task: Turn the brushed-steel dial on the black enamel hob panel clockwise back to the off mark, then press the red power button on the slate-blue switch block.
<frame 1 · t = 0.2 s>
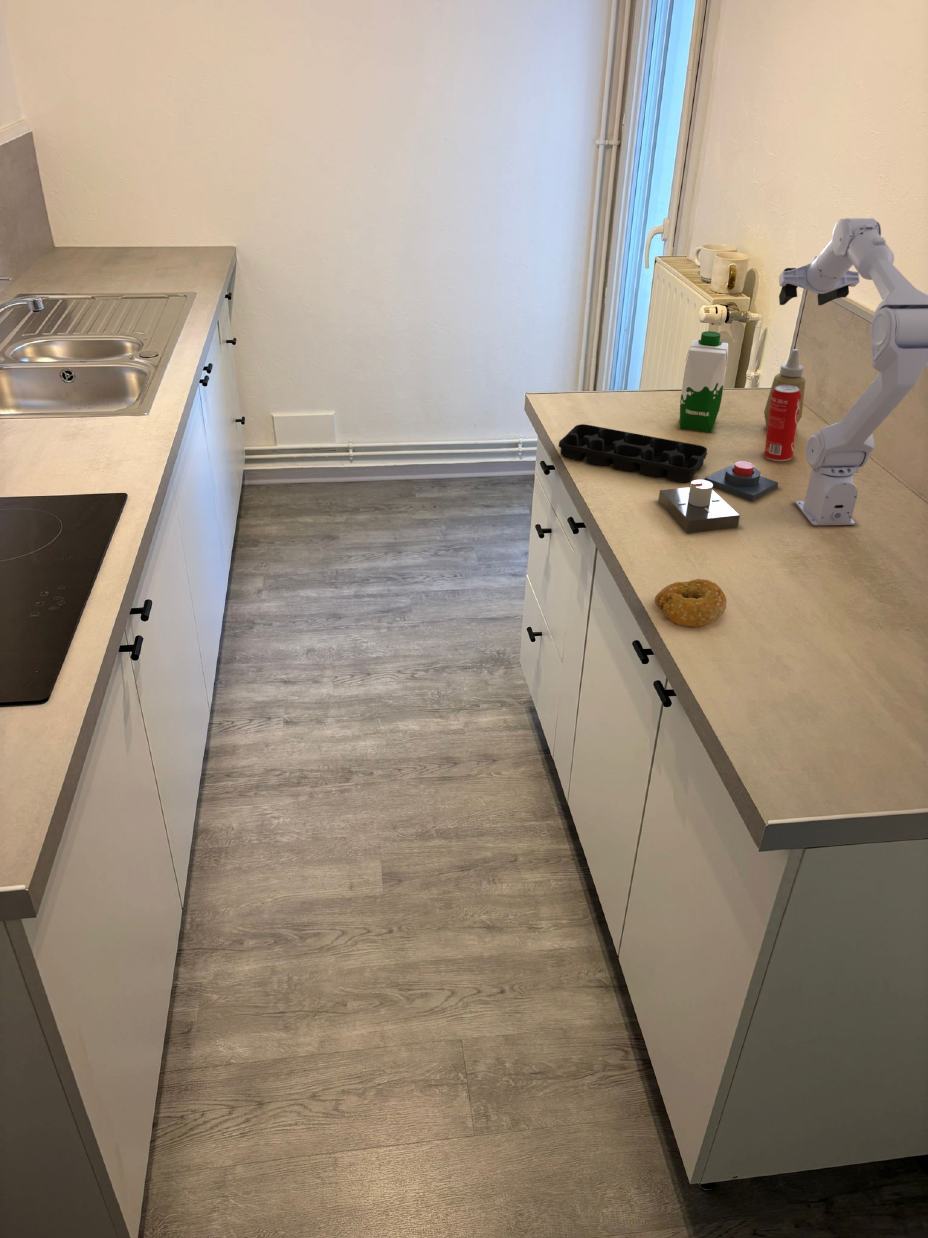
hand: (800, 300, 186), 32 cm above the counter, tool tilted 50°, fingers open, 7 cm apart
squeeze bottle: (779, 430, 215), on the counter
switch block: (740, 486, 190), on the counter
hob panel: (696, 514, 179), on the counter
power button: (743, 469, 188), point 4 cm above the counter, slide at 0.1 cm
hob knob: (700, 492, 176), point 5 cm above the counter, hinge at 90.0°
beverage can: (775, 457, 202), on the counter
bagel: (688, 613, 151), on the counter
egg carton: (630, 462, 199), on the counter
milk carton: (696, 426, 217), on the counter
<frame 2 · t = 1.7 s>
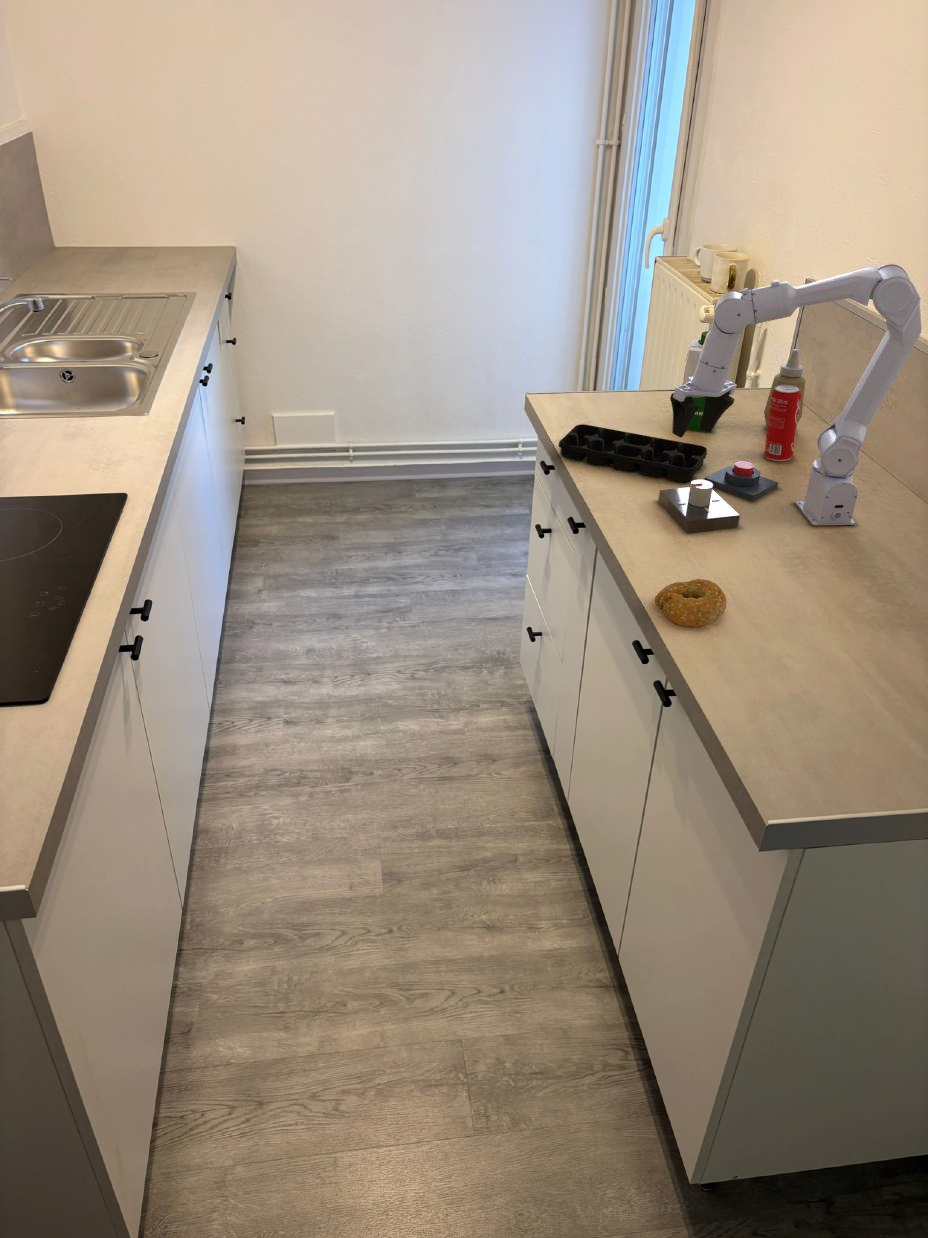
hand: (691, 432, 178), 13 cm above the counter, tool pointing down, fingers open, 7 cm apart
nothing on the counter moved.
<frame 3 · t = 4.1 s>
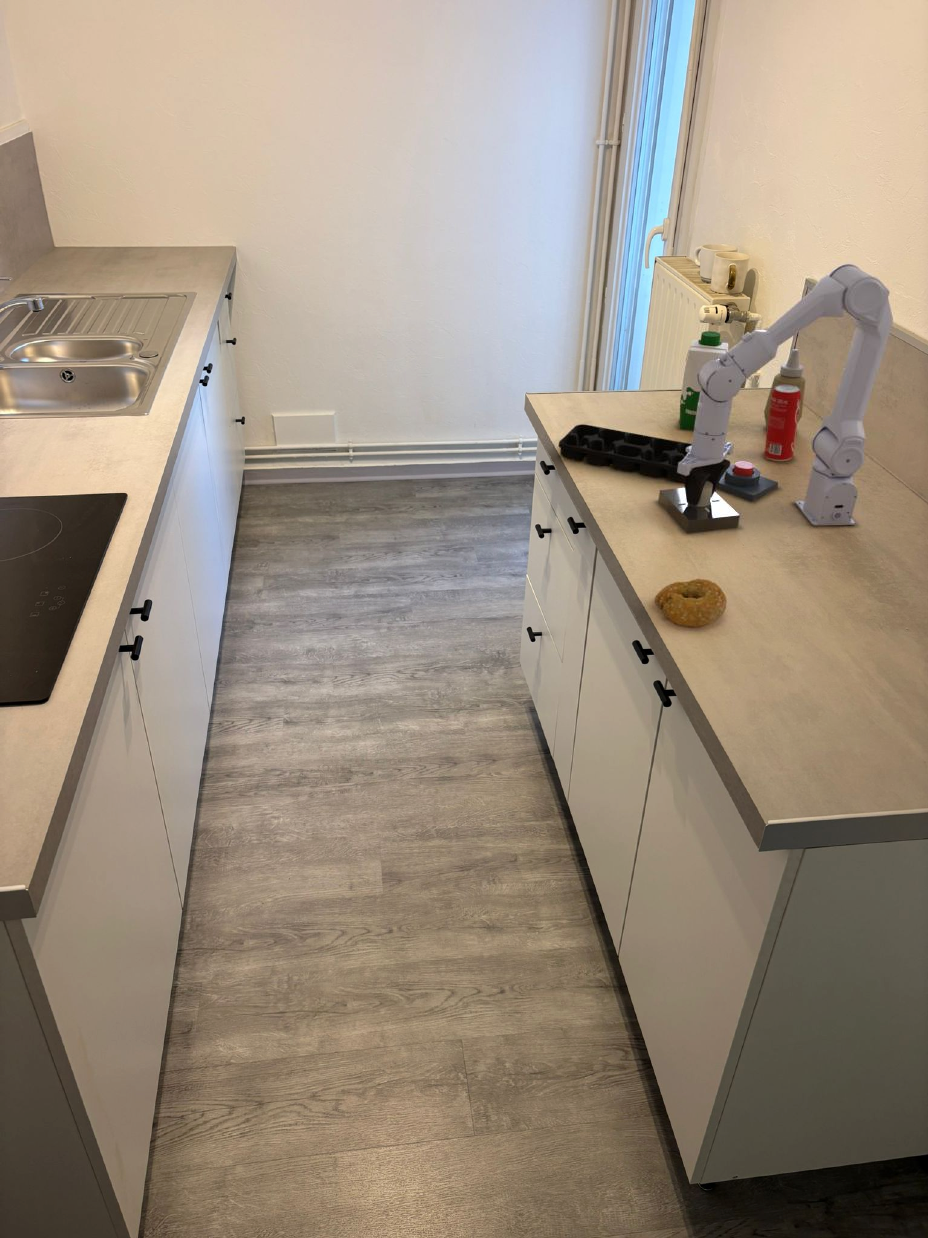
hand: (699, 499, 177), 3 cm above the counter, tool pointing down, fingers closed on hob knob, 4 cm apart
hob knob: (700, 492, 176), point 5 cm above the counter, hinge at 89.8°, touching gripper
everything else where it was.
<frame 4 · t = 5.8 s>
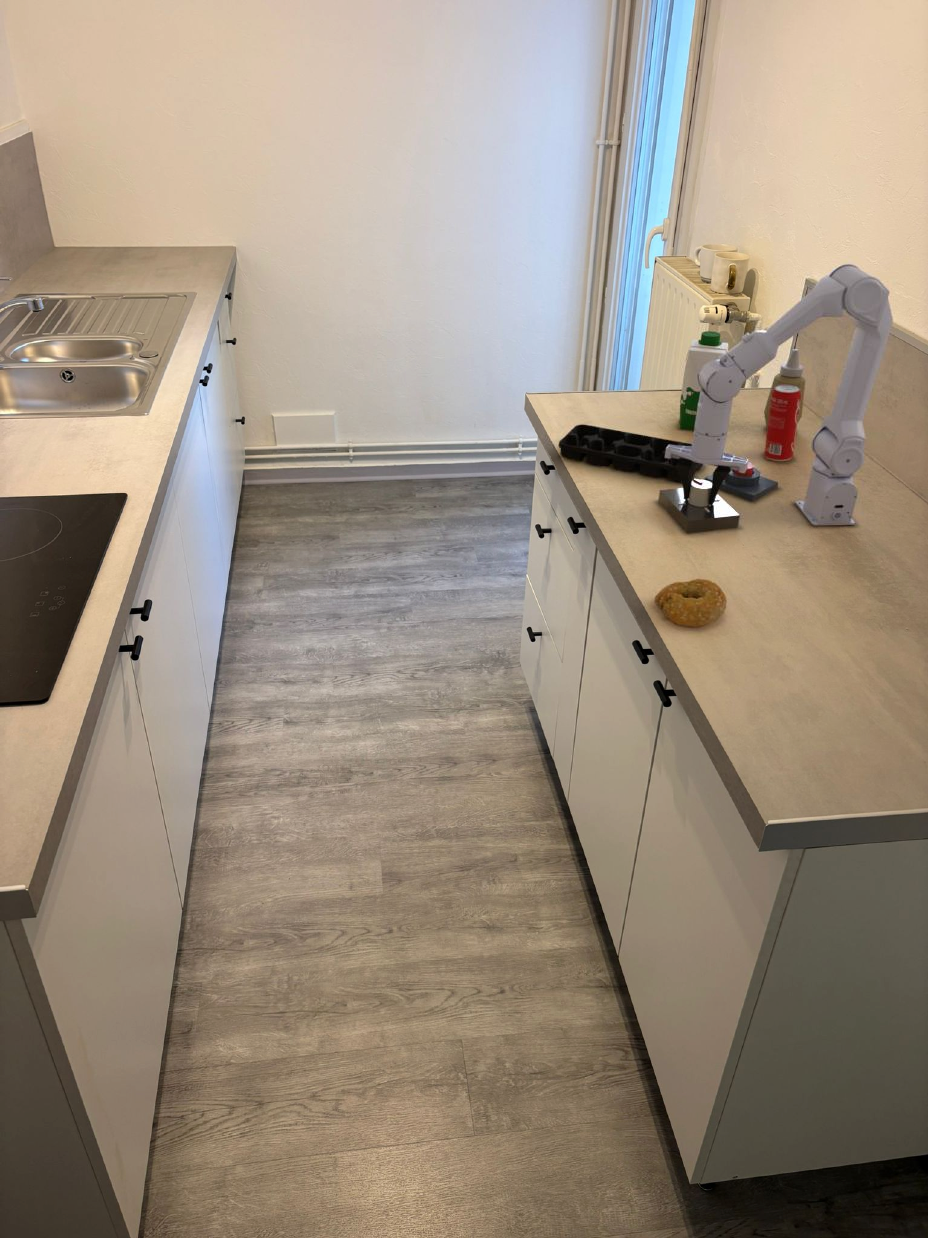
hand: (699, 500, 177), 3 cm above the counter, tool pointing down, fingers closed on hob knob, 4 cm apart
hob knob: (700, 492, 176), point 5 cm above the counter, hinge at 19.7°, touching gripper
everything else where it was.
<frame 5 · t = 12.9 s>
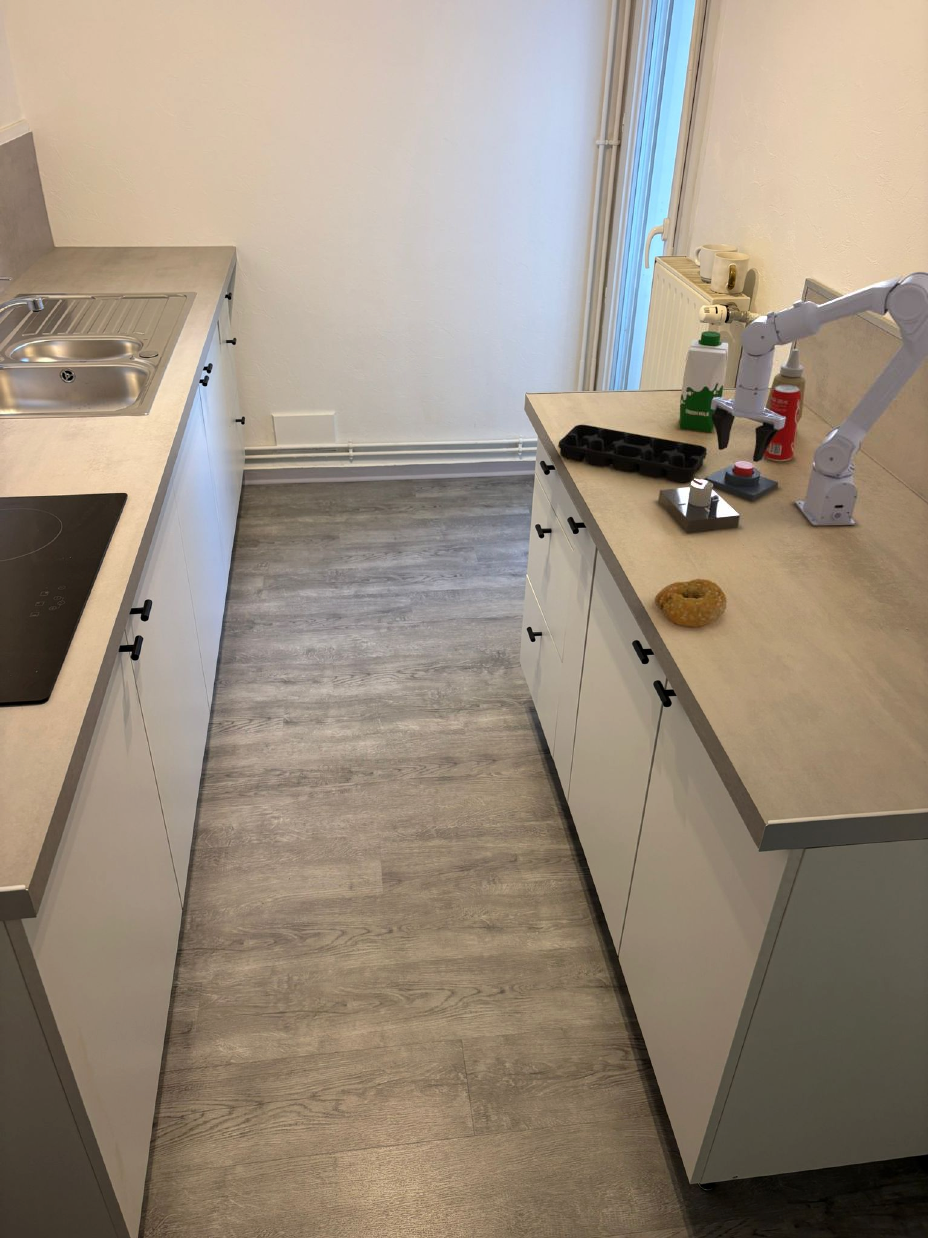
hand: (739, 454, 184), 8 cm above the counter, tool pointing down, fingers open, 7 cm apart
hob knob: (700, 492, 176), point 5 cm above the counter, hinge at 19.8°
everything else where it was.
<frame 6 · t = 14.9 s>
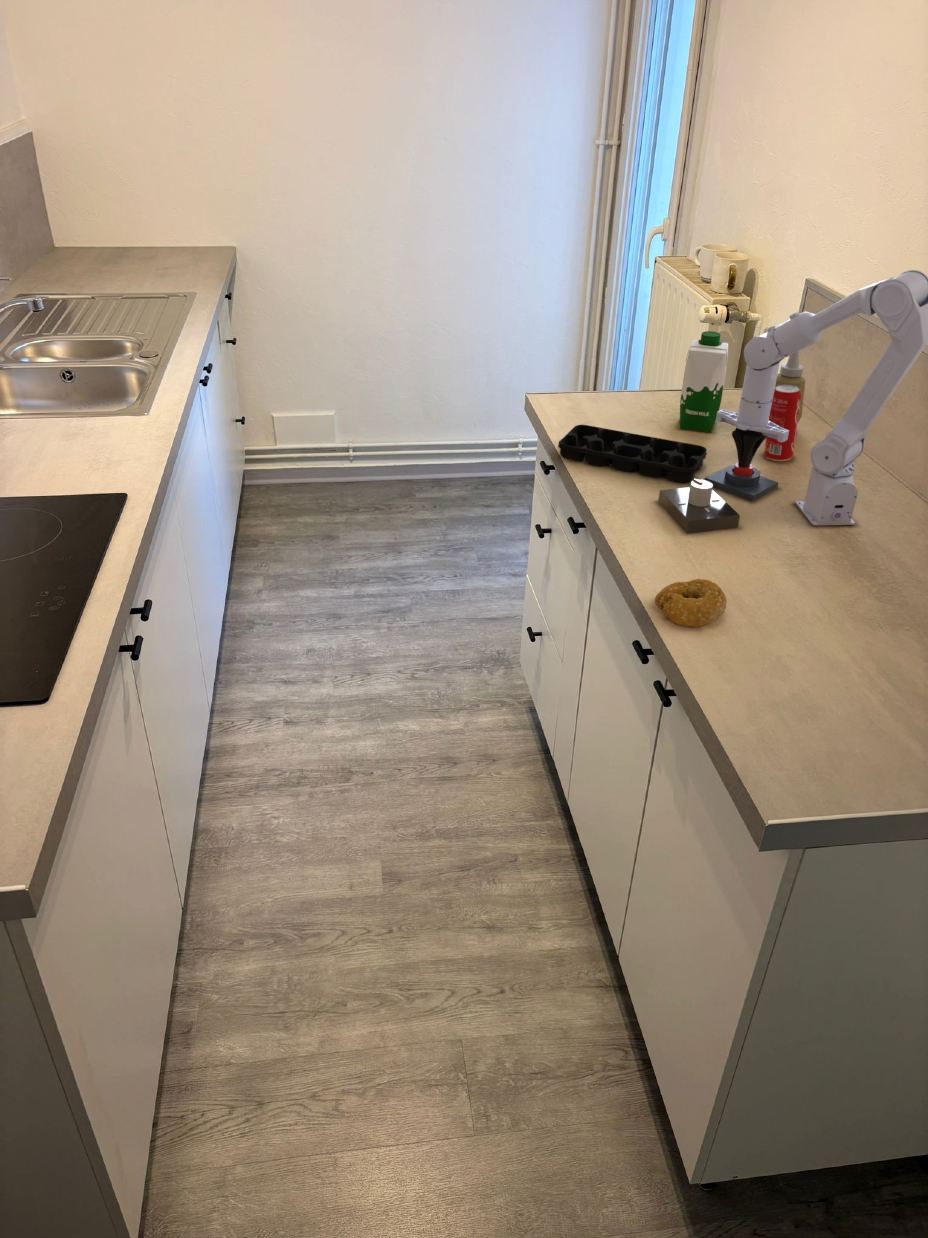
hand: (744, 465, 187), 4 cm above the counter, tool pointing down, fingers closed, pressing on power button
power button: (743, 469, 188), point 4 cm above the counter, slide at 0.0 cm, touching gripper
everything else where it was.
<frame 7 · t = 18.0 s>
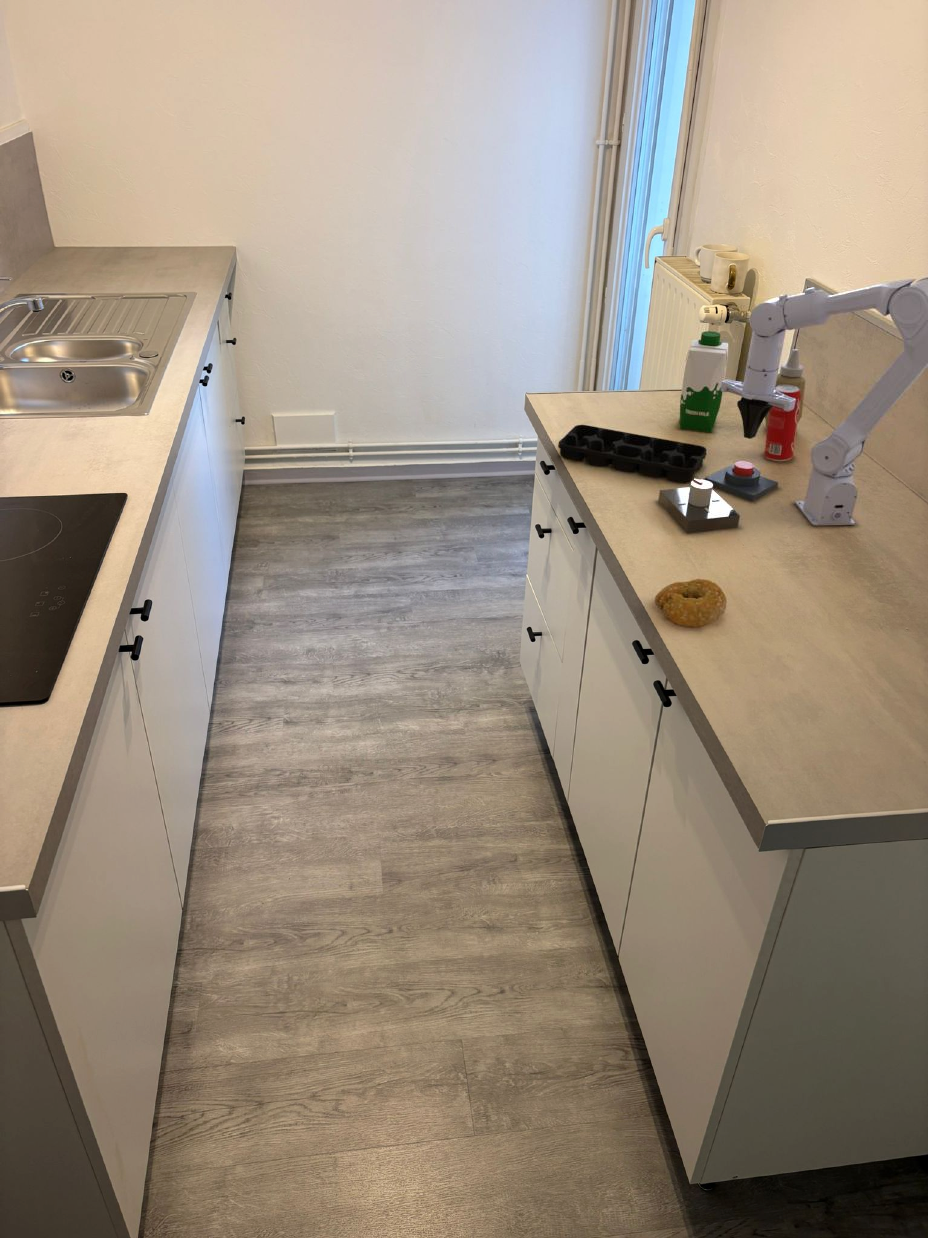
hand: (749, 436, 184), 10 cm above the counter, tool pointing down, fingers closed
power button: (743, 469, 188), point 4 cm above the counter, slide at 0.1 cm
everything else where it was.
at the end: hob knob at +20° (first picture: +90°); power button pushed in 1.2 cm at the most during the clip, back to where it started at the end; power button slide at 0.1 cm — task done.
